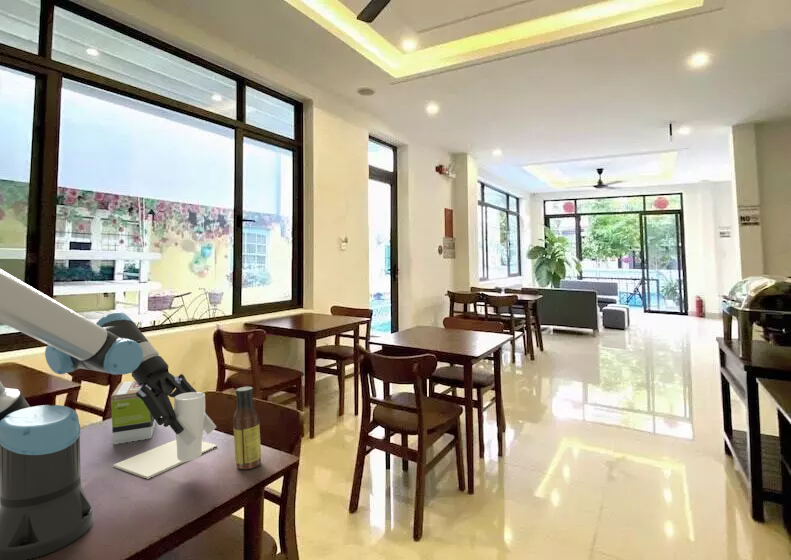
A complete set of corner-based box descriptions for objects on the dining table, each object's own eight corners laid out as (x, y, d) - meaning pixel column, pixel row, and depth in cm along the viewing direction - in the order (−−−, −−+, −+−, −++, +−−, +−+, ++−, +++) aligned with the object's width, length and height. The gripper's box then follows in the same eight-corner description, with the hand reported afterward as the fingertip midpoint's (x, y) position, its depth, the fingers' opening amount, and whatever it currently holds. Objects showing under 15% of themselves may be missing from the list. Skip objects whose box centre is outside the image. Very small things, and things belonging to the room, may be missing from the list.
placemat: (147, 479, 100) (147, 476, 100) (113, 466, 107) (113, 464, 107) (217, 447, 118) (217, 445, 118) (184, 438, 125) (184, 436, 125)
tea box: (120, 427, 134) (119, 381, 133) (157, 422, 138) (156, 377, 137) (111, 445, 120) (110, 394, 119) (152, 439, 124) (151, 389, 124)
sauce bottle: (264, 459, 110) (263, 384, 110) (256, 471, 104) (254, 391, 104) (239, 459, 111) (238, 384, 110) (230, 471, 104) (228, 391, 104)
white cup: (192, 464, 98) (192, 400, 97) (166, 462, 99) (167, 398, 99) (210, 453, 104) (211, 392, 104) (186, 450, 105) (187, 390, 105)
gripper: (165, 366, 114) (218, 431, 111) (101, 384, 95) (162, 463, 92) (182, 348, 113) (236, 413, 110) (121, 361, 94) (183, 441, 91)
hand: (202, 435), depth 101 cm, fingers closed on white cup, 7 cm apart
